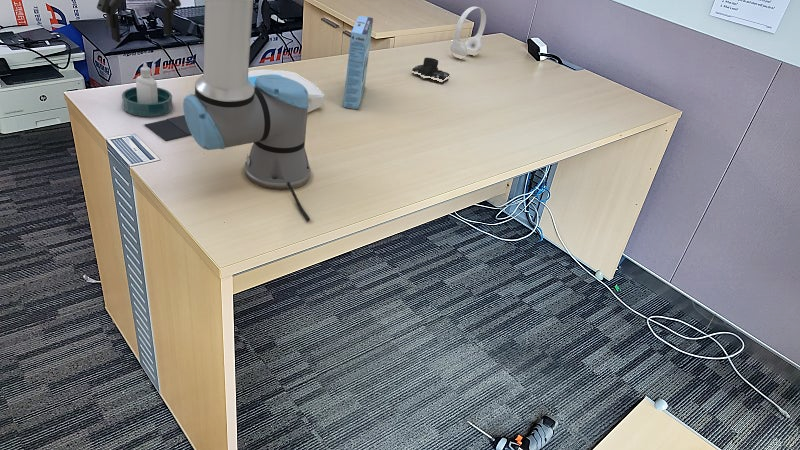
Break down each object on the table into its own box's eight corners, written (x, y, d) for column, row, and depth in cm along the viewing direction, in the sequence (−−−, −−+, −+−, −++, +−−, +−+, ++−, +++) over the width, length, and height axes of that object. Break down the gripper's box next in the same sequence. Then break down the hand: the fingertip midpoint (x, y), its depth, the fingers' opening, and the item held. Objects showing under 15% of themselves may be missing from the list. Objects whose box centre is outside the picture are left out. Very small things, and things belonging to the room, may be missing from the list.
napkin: (208, 130, 156) (208, 129, 156) (165, 141, 148) (165, 139, 148) (187, 116, 161) (187, 114, 161) (144, 125, 153) (144, 123, 153)
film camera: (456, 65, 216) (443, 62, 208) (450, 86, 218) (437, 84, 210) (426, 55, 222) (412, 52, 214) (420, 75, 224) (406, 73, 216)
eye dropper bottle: (142, 111, 158) (139, 67, 152) (136, 103, 162) (133, 59, 155) (159, 110, 161) (157, 66, 154) (153, 101, 164) (150, 59, 158)
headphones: (483, 57, 249) (495, 7, 238) (458, 63, 236) (470, 12, 226) (469, 51, 253) (480, 2, 242) (444, 57, 240) (454, 6, 229)
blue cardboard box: (358, 110, 183) (368, 35, 170) (341, 107, 183) (350, 32, 170) (364, 87, 199) (374, 17, 187) (349, 84, 199) (358, 14, 186)
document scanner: (201, 98, 172) (200, 77, 168) (283, 84, 190) (284, 65, 186) (241, 127, 160) (241, 105, 157) (324, 110, 179) (326, 90, 175)
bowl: (181, 111, 163) (180, 99, 161) (138, 121, 154) (137, 108, 152) (157, 95, 169) (156, 83, 167) (114, 103, 160) (113, 90, 158)
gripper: (176, -58, 150) (179, 27, 161) (73, -58, 133) (85, 38, 145) (193, -50, 146) (195, 36, 158) (90, -49, 129) (100, 48, 141)
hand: (142, 37), depth 151 cm, fingers open, 13 cm apart
